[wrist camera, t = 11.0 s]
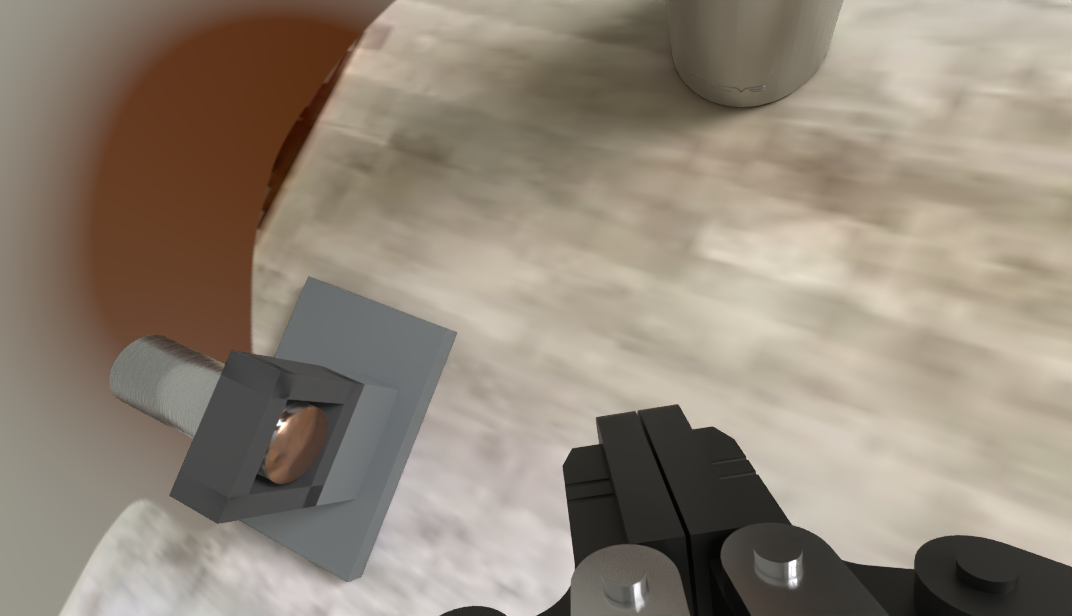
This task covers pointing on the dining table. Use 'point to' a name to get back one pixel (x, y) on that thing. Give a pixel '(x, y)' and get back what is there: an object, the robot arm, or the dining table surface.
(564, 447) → the dining table surface
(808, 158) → the dining table surface
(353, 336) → the base plate
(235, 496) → the rubber collar
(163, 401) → the steel peg
